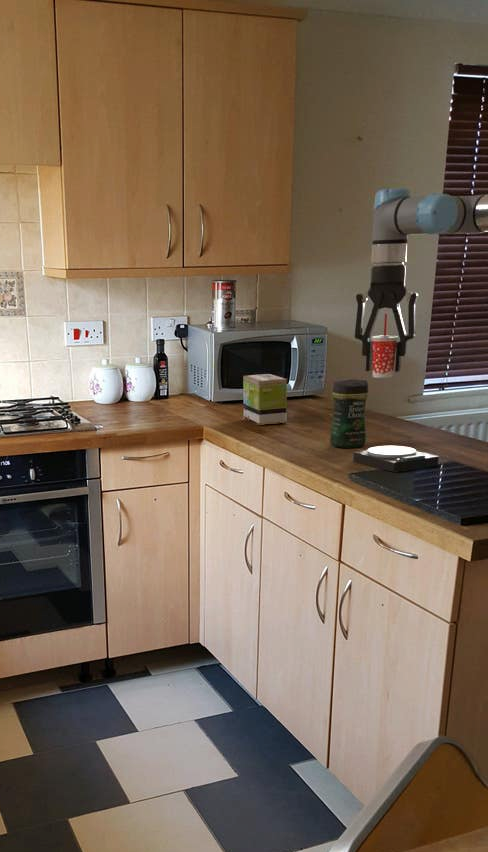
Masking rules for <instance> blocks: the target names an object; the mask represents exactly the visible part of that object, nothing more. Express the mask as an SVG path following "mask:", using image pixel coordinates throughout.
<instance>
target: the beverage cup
mask: <svg viewBox="0 0 488 852" xmlns="http://www.w3.org/2000/svg"><path fill="white" fill-rule="evenodd" d="M387 321H388V313H384V322H383V323H384V324H383V335H373V336H370V341H372V363H371V371H372V372H371V373H372V378H380V379H387V378H389V379H390V378H393V377H394V372H395V362H396V345H397V342H398V341H399V339H400V337H399V335H390V334H389V335H388V334H387V324H388V323H387Z"/></svg>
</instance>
